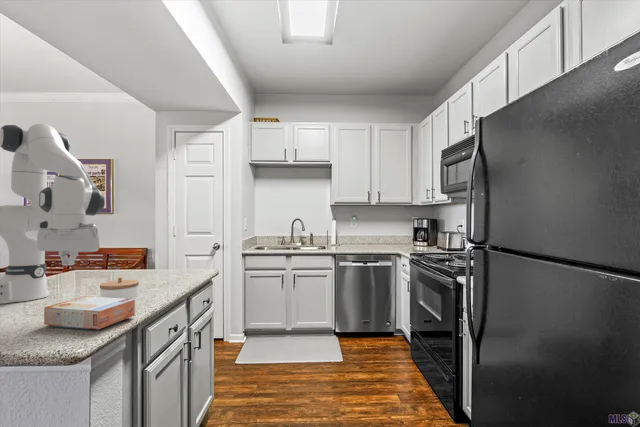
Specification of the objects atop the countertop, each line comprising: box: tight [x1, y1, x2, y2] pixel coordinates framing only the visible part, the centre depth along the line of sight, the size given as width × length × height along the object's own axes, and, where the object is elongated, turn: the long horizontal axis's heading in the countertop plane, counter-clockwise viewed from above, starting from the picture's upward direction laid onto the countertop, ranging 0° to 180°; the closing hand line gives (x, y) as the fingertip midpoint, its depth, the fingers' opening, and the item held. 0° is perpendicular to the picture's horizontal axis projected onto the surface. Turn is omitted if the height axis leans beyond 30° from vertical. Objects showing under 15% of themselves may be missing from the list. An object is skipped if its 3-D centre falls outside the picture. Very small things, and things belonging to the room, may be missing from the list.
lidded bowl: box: [99, 277, 140, 300], centre depth 121 cm, size 13×13×11 cm
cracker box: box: [43, 295, 136, 330], centre depth 103 cm, size 14×6×21 cm
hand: (68, 265), depth 105 cm, fingers closed
